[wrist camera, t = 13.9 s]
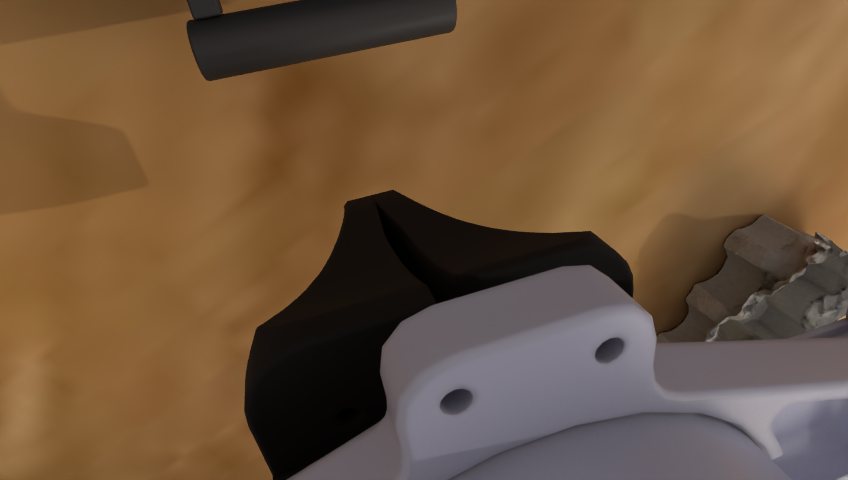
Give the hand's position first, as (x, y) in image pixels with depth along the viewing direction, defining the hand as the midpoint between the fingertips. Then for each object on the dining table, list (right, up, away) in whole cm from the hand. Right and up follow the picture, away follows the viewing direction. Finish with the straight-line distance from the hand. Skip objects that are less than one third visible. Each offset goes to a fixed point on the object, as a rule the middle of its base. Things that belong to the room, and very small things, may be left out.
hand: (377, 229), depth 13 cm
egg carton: (+18, -4, +15) cm, 24 cm away
